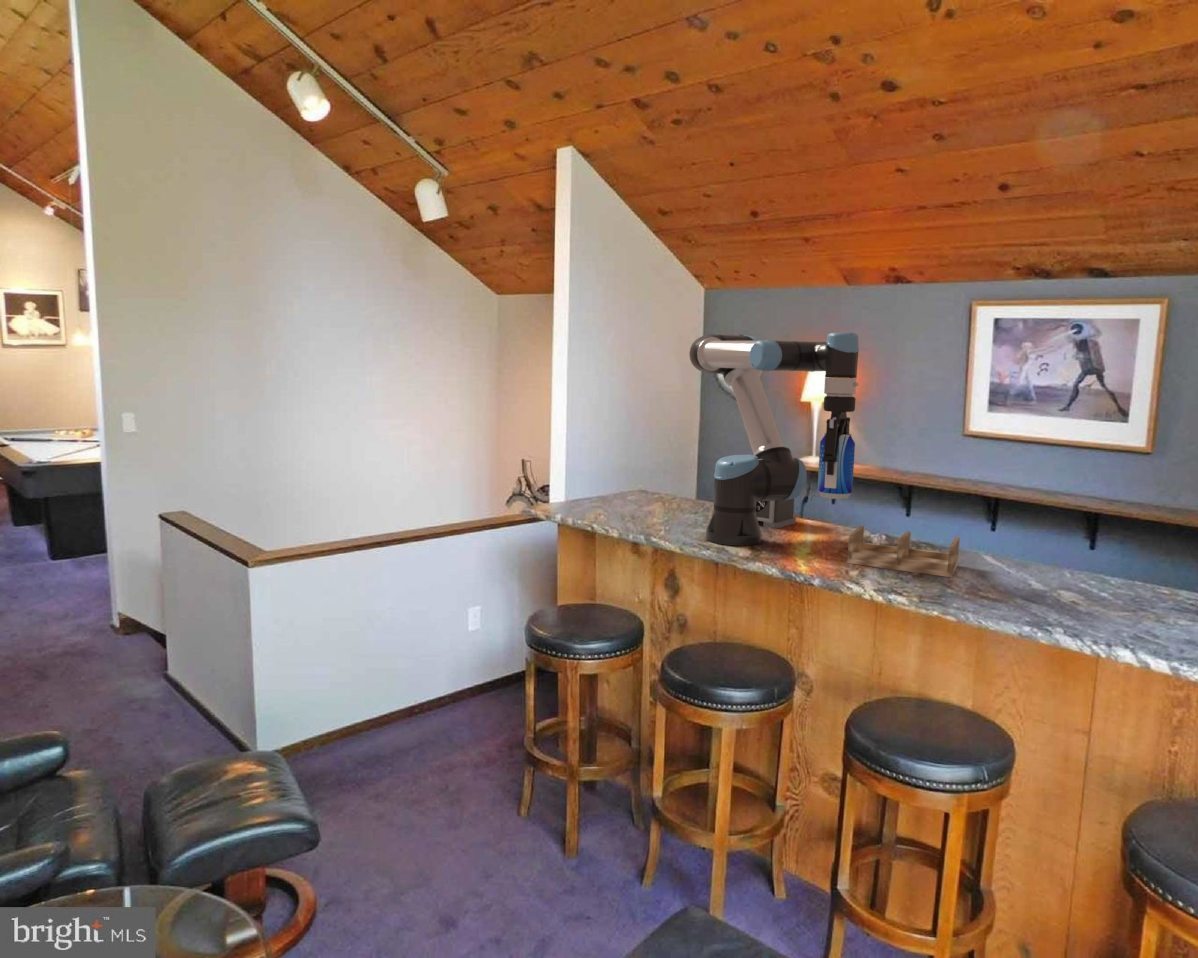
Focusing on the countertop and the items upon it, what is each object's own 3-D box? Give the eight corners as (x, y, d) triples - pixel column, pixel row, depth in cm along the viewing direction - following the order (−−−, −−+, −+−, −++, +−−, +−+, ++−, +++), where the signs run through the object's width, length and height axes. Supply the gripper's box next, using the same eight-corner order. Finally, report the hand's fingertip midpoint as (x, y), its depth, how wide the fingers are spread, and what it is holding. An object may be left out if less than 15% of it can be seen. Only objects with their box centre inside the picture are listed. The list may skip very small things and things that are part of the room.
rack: (847, 562, 200) (849, 534, 199) (858, 552, 211) (860, 525, 210) (951, 577, 188) (954, 547, 187) (957, 565, 199) (959, 537, 198)
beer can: (853, 500, 198) (857, 435, 195) (818, 498, 199) (821, 434, 197) (850, 495, 206) (854, 433, 203) (816, 493, 207) (819, 432, 205)
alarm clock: (723, 519, 251) (726, 461, 248) (745, 514, 261) (748, 458, 258) (776, 528, 239) (779, 468, 236) (797, 522, 249) (800, 464, 246)
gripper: (844, 397, 188) (839, 492, 191) (865, 395, 206) (859, 482, 209) (812, 396, 192) (808, 489, 195) (835, 394, 210) (831, 479, 213)
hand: (835, 485), depth 202 cm, fingers closed on beer can, 8 cm apart
